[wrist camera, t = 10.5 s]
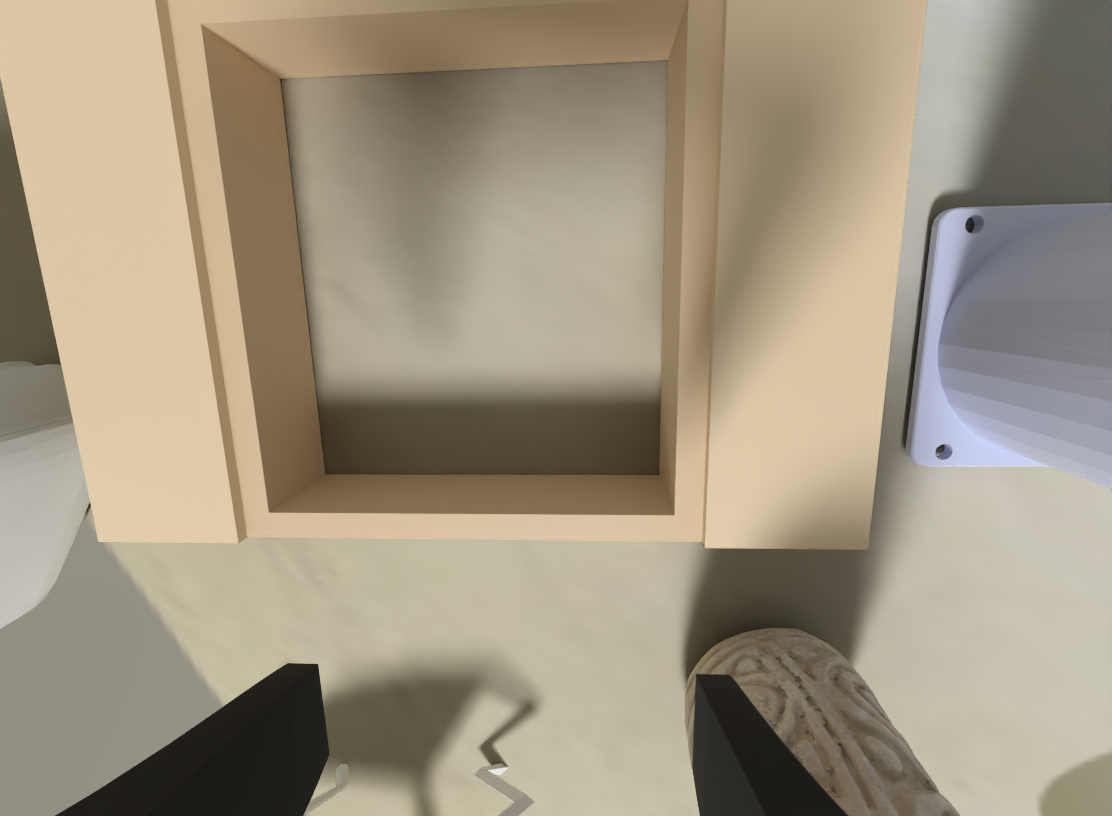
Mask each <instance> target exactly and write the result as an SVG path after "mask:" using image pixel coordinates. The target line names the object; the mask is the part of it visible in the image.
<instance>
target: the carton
mask: <svg viewBox="0 0 1112 816" xmlns="http://www.w3.org/2000/svg"><path fill="white" fill-rule="evenodd" d="M927 1H928V0H0V78H1V83H2V87H3V92H4V97H5V102H6V106H7V111H8V116H9V121H10V125H11V130H12V135H13V139H14V144H15V149H16V154H17V158H18V163H19V168H20V173H21V177H22V182H23V187H24V191H25V196H26V201H27V206H28V210H29V215H30V220H31V225H32V229H33V234H34V239H35V243H36V248H37V253H38V258H39V262H40V267H41V272H42V277H43V281H44V286H45V291H46V296H47V300H48V305H49V310H50V314H51V319H52V324H53V329H54V333H55V338H56V343H57V348H58V352H59V357H60V362H61V366H62V371H63V376H64V381H65V385H66V390H67V395H68V400H69V404H70V409H71V414H72V418H73V423H74V428H75V433H76V437H77V442H78V447H79V452H80V456H81V461H82V466H83V470H84V475H85V480H86V485H87V489H88V494H89V499H90V504H91V508H92V513H93V518H94V522H95V527H96V532H97V537H98V541H99V542H168V543H239V542H241V541H242V540H244V539H245V538H247V537H271V538H374V539H477V540H580V541H683V542H702V543H703V545H704V547H705V548H740V549H835V550H868V546H869V536H870V527H871V518H872V509H873V499H874V490H875V481H876V472H877V463H878V453H879V444H880V435H881V426H882V416H883V407H884V398H885V389H886V379H887V370H888V361H889V352H890V342H891V333H892V324H893V315H894V305H895V296H896V287H897V278H898V268H899V259H900V250H901V241H902V232H903V222H904V213H905V204H906V195H907V185H908V176H909V167H910V158H911V148H912V139H913V130H914V121H915V111H916V102H917V93H918V84H919V74H920V65H921V56H922V47H923V37H924V28H925V19H926V10H927ZM657 60H668V70H667V119H666V168H665V216H664V265H663V313H662V362H661V410H660V459H659V475H403V474H325V467H324V459H323V450H322V441H321V432H320V424H319V415H318V406H317V397H316V389H315V380H314V371H313V362H312V354H311V345H310V336H309V327H308V318H307V310H306V301H305V292H304V283H303V275H302V266H301V257H300V248H299V240H298V231H297V222H296V213H295V205H294V196H293V187H292V178H291V170H290V161H289V152H288V143H287V135H286V126H285V117H284V108H283V100H282V91H281V82H280V79H288V78H309V77H329V76H350V75H370V74H391V73H411V72H432V71H452V70H473V69H493V68H514V67H534V66H555V65H575V64H596V63H616V62H637V61H657Z"/></svg>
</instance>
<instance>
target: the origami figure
mask: <svg viewBox="0 0 1112 816" xmlns="http://www.w3.org/2000/svg"><path fill="white" fill-rule="evenodd" d="M507 768H508V767H507V766H505V765H504V764H502V763H499V764H495V765H491V766H486V767H482V768H480V769H479V770H478V771H477V772H476V774H475V776H477V777H478V778H480V779H481V780H482V781H484V782H485V783H487V784H488V785H489V786H491V787H492V788H494V789H495V790H497V791H498V792H499V793H501V794H502V795H504V796H505V797H506V798H508V799H509V800H511V801H512V802H514V803H513V804H511V805H510V806H509V807H508V808H506V809H505V810H504V811H503V812H502V813H500V814H499V815H498V816H519V815H520V814H521V813H522V812H523V811H524V810H526V809H527V808H528V807H529V806H530V805H531V804H533V803H534V801H533V800H532V799H531V798H529V797H528V796H527V795H526V794H524V793H523V792H521V791H520V790H518V789H517V788H515V787H513V786H512V785H510V784H509V783H507V782H505V781H504V780H502V779H501V778H499V777H498V776H496V775H500V774H502V773H503V772H504V771H505V770H506V769H507ZM335 780H336V787H335V788H333V789H331V790H329V791H327V792H326V793H324V794H322V795H320V796H318V797H316V798H315V799H313V800H311V801H310V802H309V804H308V807H307V809H306V811H305V813H304V815H303V816H305V815H306V814H308V813H309V812H311V811H312V810H314V809H315V808H317V807H318V806H320V805H321V804H322V803H324V802H325V801H327V800H328V799H330V798H331V797H333V796H334V795H336V794H337V793H339V792H340V791H342V790H343V789H344V788H345V786H346V785H347V784H348V765H347V764H342V763H341V764H340V765H339V766H338V767H337V768H336V769H335Z"/></svg>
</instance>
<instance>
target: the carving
mask: <svg viewBox="0 0 1112 816" xmlns="http://www.w3.org/2000/svg"><path fill="white" fill-rule="evenodd" d="M696 674H719V675H730V676H731V677H732V678H733V679H734V680H735V681H736V682H737V684H738V685H739V686H740V688H741V689H742V690H743V691H744V693H745V694H746V695H747V697H748V698H749V699H750V701H751V702H752V703H753V705H754V706H755V707H756V708H757V710H758V711H759V712H760V714H761V715H762V716H763V717H764V719H765V720H766V721H767V722H768V724H769V725H770V726H771V727H772V729H773V730H774V731H775V732H776V734H777V735H778V736H779V737H780V739H781V740H782V741H783V742H784V743H785V745H786V746H787V747H788V748H789V749H790V751H791V752H792V753H793V754H794V755H795V756H796V758H797V759H798V760H799V761H800V762H801V763H802V765H803V766H804V767H805V768H806V769H807V770H808V772H809V773H810V774H811V775H812V776H813V777H814V779H815V780H816V781H817V782H818V783H819V784H820V785H821V786H822V788H823V789H824V790H825V791H826V792H827V793H828V794H829V795H830V796H831V798H832V799H833V800H834V801H835V802H836V803H837V804H838V805H839V806H840V807H841V808H842V809H843V810H844V812H845V813H846V814H847V815H848V816H960V815H959V813H958V812H957V811H956V809H955V808H954V807H953V806H952V804H951V803H950V802H949V801H948V800H947V799H946V798H945V797H944V796H942V795H941V794H940V793H939V791H938V789H937V787H936V785H935V784H934V782H933V781H932V779H931V778H930V776H929V775H928V774H927V772H926V771H925V769H924V768H923V767H922V765H921V764H920V762H919V761H918V760H917V758H916V757H915V756H914V754H913V751H912V750H911V748H910V746H909V745H908V743H907V742H906V740H905V739H904V738H903V736H902V735H901V734H900V733H899V732H898V731H897V730H896V728H894V726H893V725H892V723H891V721H890V720H889V718H888V716H887V715H886V713H885V712H884V710H883V709H882V707H881V706H880V704H879V702H878V700H877V699H876V697H875V695H874V694H873V692H872V691H871V689H870V688H869V686H868V685H867V684H866V683H865V681H864V680H863V679H862V677H861V676H860V675H859V674H858V672H857V671H856V670H855V669H854V668H853V667H852V666H851V665H850V663H849V662H848V661H847V660H846V658H845V657H844V656H843V655H842V654H841V653H840V652H838V651H837V650H836V649H835V648H833V647H832V646H831V645H829V644H828V643H826V642H824V641H822V640H820V639H819V638H817V637H815V636H812V635H810V634H808V633H806V632H804V631H802V630H799V629H793V628H765V629H758V630H752V631H748V632H744V633H741V634H738V635H735V636H732V637H730V638H728V639H726V640H723V641H721V642H719V643H718V644H716V645H715V646H713V647H712V648H711V649H710V650H709V651H708V652H707V653H706V654H705V655H704V656H703V657H702V658H701V660H700V661H699V662H698V663H697V665H696V666H695V667H694V669H693V671H692V673H691V674H690V676H689V679H688V681H687V684H686V694H685V723H686V733H687V738H688V748H689V754H690V761H691V766H692V762H693V736H694V710H695V685H696Z"/></svg>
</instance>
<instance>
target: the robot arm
mask: <svg viewBox="0 0 1112 816" xmlns="http://www.w3.org/2000/svg"><path fill="white" fill-rule="evenodd" d="M969 217H970V218H972V219H973V220H974V224H975V226H974V229H973V231H972V232H971V233H968V231H967V230H966V228H965V223H966V221H967V219H968V218H969ZM943 444H944V447H945V449H944V451H943V453H942V454H941V455H939V456H936V453H935V451H936V449H937V448H938V447H939V446H940V445H943ZM906 455H907V457H908V459H909V460H911V461H912V462H914V463H916V464H918V465H921V466H1051V467H1054V468H1056V469H1059V470H1062V471H1064V472H1067V473H1070V474H1072V475H1075V476H1078V477H1080V478H1083V479H1086V480H1088V481H1091V482H1094V483H1096V484H1099V485H1102V486H1104V487H1107V488H1110V489H1112V203H1086V204H1052V205H1019V206H985V207H957V208H953V209H948V210H944V211H943V212H941V213H940V214H938V216H937V217H936V218H935V220H934V222H933V225H932V230H931V239H930V247H929V256H928V264H927V272H926V281H925V289H924V298H923V306H922V315H921V323H920V331H919V340H918V348H917V357H916V365H915V373H914V382H913V390H912V399H911V407H910V415H909V424H908V432H907V441H906ZM328 756H329V747H328V739H327V731H326V723H325V716H324V708H323V700H322V692H321V684H320V676H319V668H318V664H292V663H288V664H286V665H284V666H283V667H281V668H279V669H278V670H276V671H275V672H273V673H272V674H270V675H269V676H267V677H266V678H264V679H263V680H261V681H260V682H258V683H257V684H255V685H254V686H252V687H251V688H250V689H248V690H247V691H245V692H244V693H242V694H241V695H239V696H238V697H237V698H235V699H234V700H232V701H231V702H229V703H228V704H227V705H225V706H224V707H222V708H221V709H219V710H218V711H217V712H215V713H214V714H212V715H211V716H209V717H208V718H206V719H205V720H203V721H202V722H201V723H199V724H198V725H196V726H195V727H194V728H192V729H190V730H189V731H187V732H186V733H185V734H183V735H182V736H180V737H179V738H177V739H176V740H174V741H173V742H171V743H170V744H169V745H167V746H165V747H164V748H162V749H161V750H159V751H158V752H156V753H155V754H153V755H151V756H150V757H148V758H147V759H145V760H144V761H142V762H141V763H139V764H138V765H136V766H134V767H133V768H131V769H130V770H129V771H127V772H125V773H124V774H122V775H121V776H119V777H118V778H116V779H115V780H113V781H111V782H110V783H108V784H107V785H105V786H104V787H102V788H101V789H99V790H97V791H96V792H94V793H92V794H91V795H89V796H87V797H86V798H84V799H83V800H81V801H79V802H78V803H76V804H74V805H72V806H71V807H69V808H67V809H66V810H65V811H62V812H61V813H59V814H57V815H56V816H303V815H304V813H305V811H306V809H307V807H308V804H309V802H310V800H311V797H312V795H313V793H314V791H315V788H316V786H317V784H318V781H319V779H320V776H321V774H322V771H323V769H324V766H325V764H326V761H327V759H328ZM692 769H693V775H694V782H695V788H696V794H697V801H698V807H699V813H700V816H848V815H847V814H846V813H845V812H844V810H843V809H842V808H841V807H840V806H839V805H838V804H837V803H836V802H835V801H834V800H833V799H832V798H831V796H830V795H829V794H828V793H827V792H826V791H825V790H824V789H823V788H822V786H821V785H820V784H819V783H818V782H817V781H816V780H815V779H814V777H813V776H812V775H811V774H810V773H809V772H808V770H807V769H806V768H805V767H804V766H803V765H802V763H801V762H800V761H799V760H798V759H797V758H796V756H795V755H794V754H793V753H792V752H791V751H790V749H789V748H788V747H787V746H786V745H785V743H784V742H783V741H782V740H781V739H780V737H779V736H778V735H777V734H776V732H775V731H774V730H773V729H772V727H771V726H770V725H769V724H768V722H767V721H766V720H765V719H764V717H763V716H762V715H761V714H760V712H759V711H758V710H757V708H756V707H755V706H754V705H753V703H752V702H751V701H750V699H749V698H748V697H747V695H746V694H745V693H744V691H743V690H742V689H741V688H740V686H739V685H738V684H737V682H736V681H735V680H734V679H733V678H732V677H731V676H730V675H719V674H696V685H695V710H694V736H693V762H692Z"/></svg>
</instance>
